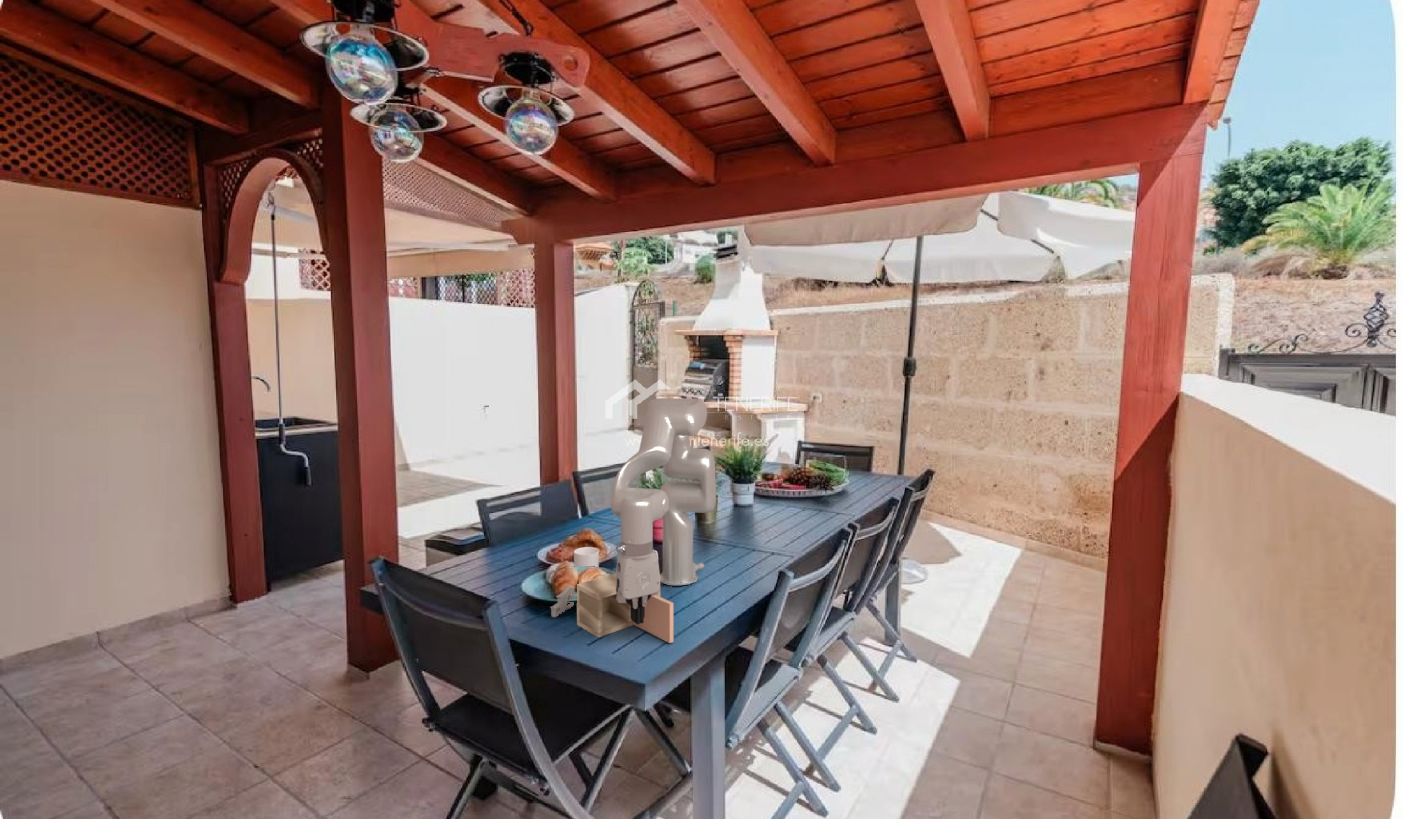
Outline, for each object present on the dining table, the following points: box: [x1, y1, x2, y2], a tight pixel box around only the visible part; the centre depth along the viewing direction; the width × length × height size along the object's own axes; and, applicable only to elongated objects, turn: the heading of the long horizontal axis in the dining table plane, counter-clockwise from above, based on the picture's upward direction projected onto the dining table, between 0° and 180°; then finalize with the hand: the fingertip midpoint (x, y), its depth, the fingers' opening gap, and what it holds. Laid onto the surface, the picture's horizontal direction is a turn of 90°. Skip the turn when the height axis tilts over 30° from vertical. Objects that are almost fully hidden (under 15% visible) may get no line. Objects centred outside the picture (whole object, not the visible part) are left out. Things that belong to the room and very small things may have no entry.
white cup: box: [573, 546, 600, 569], centre depth 195 cm, size 8×8×10 cm
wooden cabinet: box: [576, 572, 661, 638], centre depth 167 cm, size 20×11×11 cm, turn 133°
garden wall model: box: [550, 586, 575, 618], centre depth 174 cm, size 12×2×6 cm, turn 159°
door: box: [633, 595, 674, 644], centre depth 159 cm, size 15×2×10 cm, turn 43°
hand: (637, 621), depth 151 cm, fingers closed
